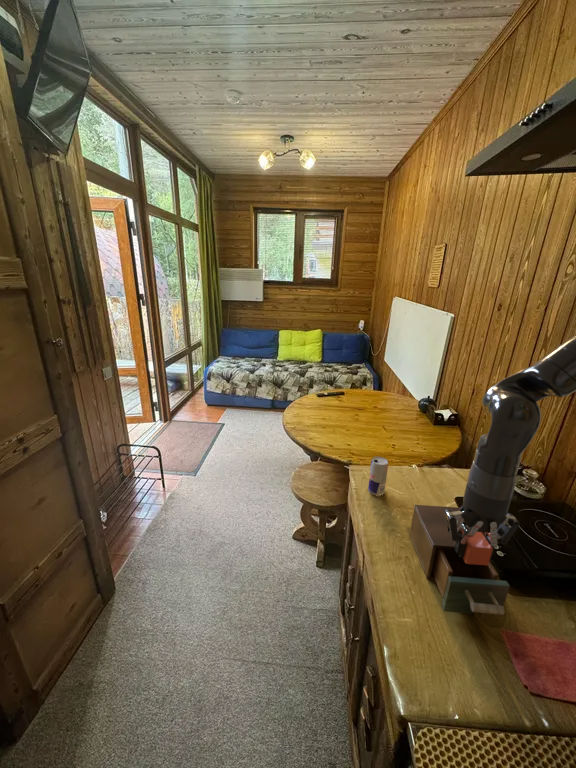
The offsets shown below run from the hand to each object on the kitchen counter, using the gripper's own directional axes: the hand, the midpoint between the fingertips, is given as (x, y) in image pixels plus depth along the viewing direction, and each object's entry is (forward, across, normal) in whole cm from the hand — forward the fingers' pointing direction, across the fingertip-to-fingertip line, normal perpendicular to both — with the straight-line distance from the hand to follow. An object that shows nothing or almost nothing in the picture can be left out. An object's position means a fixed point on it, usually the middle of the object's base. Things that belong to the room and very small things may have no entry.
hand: (471, 554), depth 65 cm
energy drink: (+12, +12, -36) cm, 39 cm away
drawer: (+11, 0, 0) cm, 11 cm away
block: (0, 0, 0) cm, 0 cm away
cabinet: (+12, 0, -10) cm, 16 cm away
